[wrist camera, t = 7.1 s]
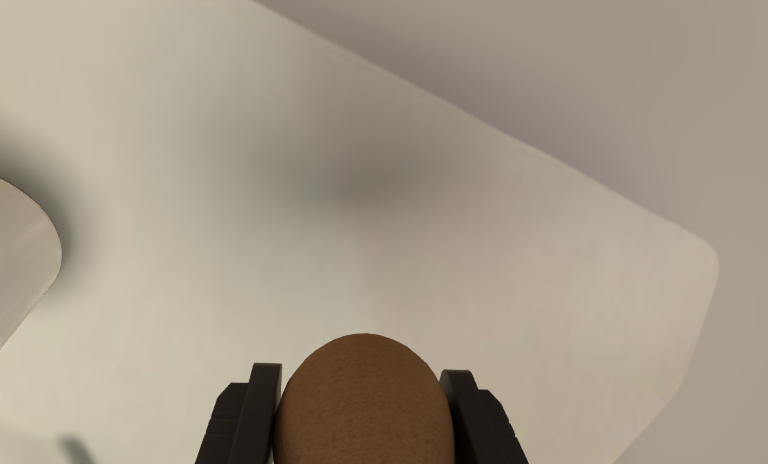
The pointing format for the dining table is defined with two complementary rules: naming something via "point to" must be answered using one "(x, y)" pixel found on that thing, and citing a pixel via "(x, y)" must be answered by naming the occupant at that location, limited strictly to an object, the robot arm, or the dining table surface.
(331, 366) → the egg
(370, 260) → the dining table surface
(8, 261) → the mug
